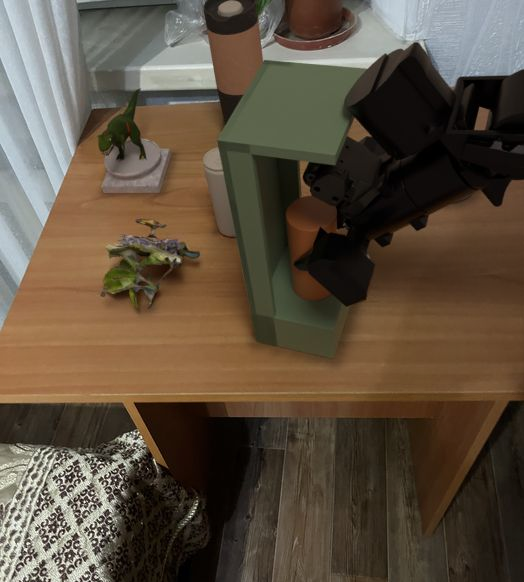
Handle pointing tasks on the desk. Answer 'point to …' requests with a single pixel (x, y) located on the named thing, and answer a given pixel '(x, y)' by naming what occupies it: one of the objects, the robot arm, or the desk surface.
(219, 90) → the travel mug
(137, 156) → the dinosaur figurine
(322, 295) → the tea tin
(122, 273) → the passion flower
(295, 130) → the green c-shaped stand
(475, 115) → the robot arm
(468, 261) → the desk surface
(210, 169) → the beverage can
